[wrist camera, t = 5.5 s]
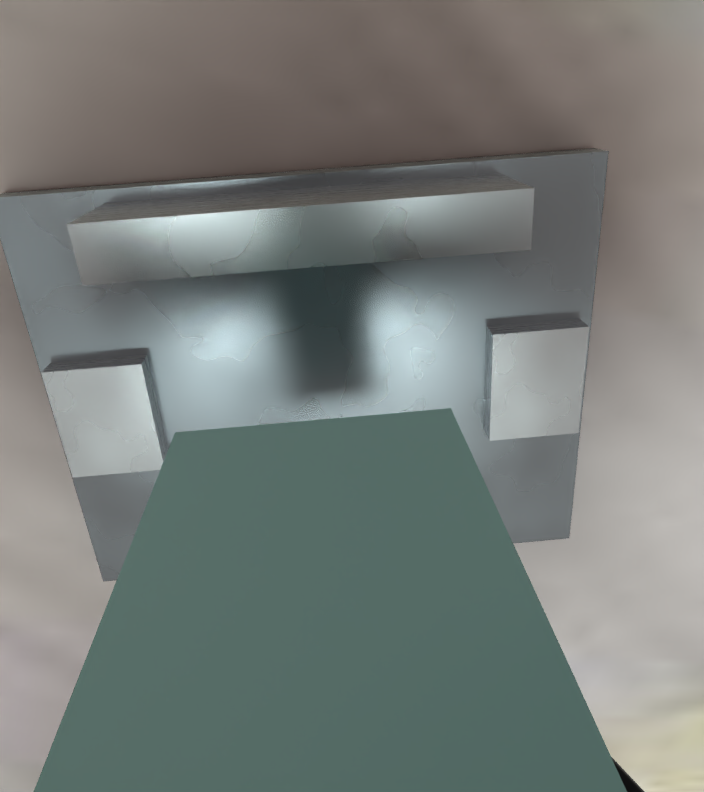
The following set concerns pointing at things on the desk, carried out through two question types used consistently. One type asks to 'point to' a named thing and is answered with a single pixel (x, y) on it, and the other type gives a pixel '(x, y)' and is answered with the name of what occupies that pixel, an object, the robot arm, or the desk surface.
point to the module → (325, 628)
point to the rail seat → (316, 316)
